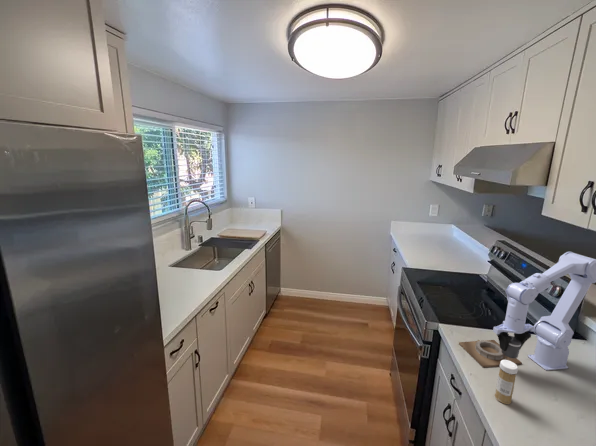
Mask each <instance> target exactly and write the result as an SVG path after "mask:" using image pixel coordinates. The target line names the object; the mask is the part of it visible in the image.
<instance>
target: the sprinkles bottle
mask: <svg viewBox="0 0 596 446" xmlns="http://www.w3.org/2000/svg"><path fill="white" fill-rule="evenodd" d="M518 370H519V366H518V365H516V364H515V363H513V362H511V361H509V360H501V362H500V366H499V371H498V376H497V383H496V388H495V392H494V397H495V399H496V400H497V401H498V402H500V403H501V404H504V405H510V404H511V403H512V399H513V398H512V397H513V394H514V389H515V383H516V377H517V373H518Z"/></svg>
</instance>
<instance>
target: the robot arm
mask: <svg viewBox="0 0 596 446" xmlns="http://www.w3.org/2000/svg"><path fill="white" fill-rule="evenodd" d="M566 275H569V278H570V281H569V284H568V285H567V286H566V288H565V290H564V291H563V294H562V295H561V297H560V298H559V300H558V302H557V304H556V305H555V306H554V309H553V310H552V313H550V315H545V316H544V315H543V316H541V317H540V318H539V320H538V321H536V322H535V323H534V325H532V324H530V323H526V320H527V315H528V311H529V306H530V304H532V303H533V302H534V301H535V299H536V298H537V297H538V295H539V294H540V293H542V292H543V291H545V290H547V289H549V288H550V287H551V286H552V283H551V282H553V281H555V280H557V279H560V278H562V277H564V276H566ZM595 283H596V258H592V257H588V256H586V255H582V254H579V253H576V252H573V251H566V252H564V253H563V254H562V255H560V256H559V259H558V261H557V262H556V263H555V264H554V265H552V266H551V267H549V268H548V269H547V270H545V271H544V272H542V273H539V272H536V273H533V274H532V275H530V276H528V277H527V278H525V279H523V280H521V281H520V282H512V283H510V284H508V286H507V287H506V289H505V295H506V297H507V298H506V301H507V306H506V313H505V318H504V320H503V321H502V323H501V324H499V325H497V326H496V325H495V326H493V328H492V332H493V333H494V334H496V336H497V339H498V344H500V348H501V349H502V350H503V351H506V350H507V348H508V344H509V342H510V340H511V339H512V337H510V336H511V335H510V334H513V337H516V338H518V339H519V340H520V341H521V346H520V350H521V349H522V347H523V346H524V344H525V342H527V341H528V340H529V339H531V338H532V334H531V333H530V332H533V333H534V334H535V338H536V339H537V340H536V344H535V348H534V352H533V353H534V354H527V357H528V358H530V359H531V360H532V361H533V362H534V363H536V364H537V365H538V366H539V367H541V368H542V369H544V370H545V371H554V370H565V369H569V366H567V363H568V359H569V354H570V351H569V346H570V345H571V343H572V338H573V336H574V334H575V333H574V330H573V329H572V328H571V326H570V324H569V323H570V321H571V319H572V318H573V316H574V315H575V313H576V311H577V310H578V307H580V304H581V303H582V301H583V299H584V297H585V296H586V294H587V292H588V291H589V289H590V288H591V286H592V284H595ZM509 333H510V334H509Z"/></svg>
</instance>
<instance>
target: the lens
mask: <svg viewBox="0 0 596 446" xmlns="http://www.w3.org/2000/svg"><path fill="white" fill-rule="evenodd" d="M509 336H510V337H512V339H511V340H510V342H509V344H508V348H507V350H506V351H503V350H501V352H502V353H503V354H504V355H505V356H507V357H509V358H517V359H518V357H519V354H520V351H521V349H520V346H521V341H520V340H519V339H518V338H516V337H514V335H509Z"/></svg>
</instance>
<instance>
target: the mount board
mask: <svg viewBox="0 0 596 446" xmlns="http://www.w3.org/2000/svg"><path fill="white" fill-rule="evenodd" d="M458 345H459V346H460V347H462V349H463V350H464V351H465V352H467V354H469V356H470V357H472V358H473V360H475V362H476V363H478V364H479V366H480V367H482V368H493V367H495V368H496V367H500V362H501V360H509V361H511V362H513V363H515V364H516V365H517V366H518V365H523V363H522V361H520V360H519V359H518V358H509V357H507V356H505V355H504V354H503V353H502V352H501V350H502V349H501V348H500V344H499V342H497V340H494V339H486V340H483V339H482V340H481V339H480V340H479V339H477V340H474V341H473V340H472V341H460V342H459V341H458Z"/></svg>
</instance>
